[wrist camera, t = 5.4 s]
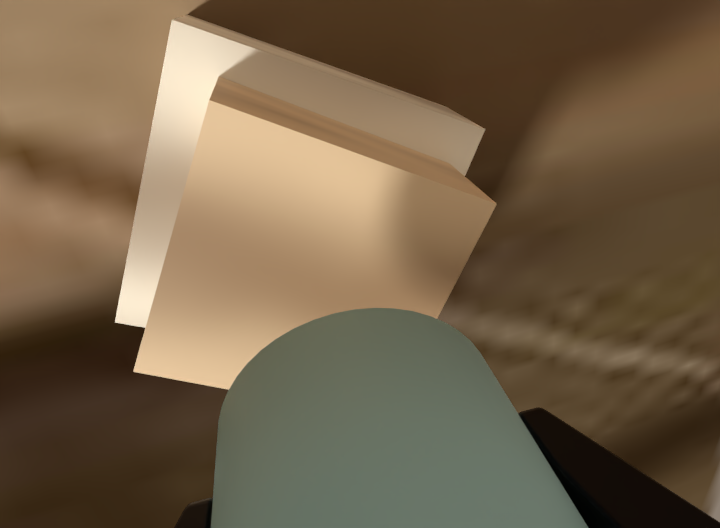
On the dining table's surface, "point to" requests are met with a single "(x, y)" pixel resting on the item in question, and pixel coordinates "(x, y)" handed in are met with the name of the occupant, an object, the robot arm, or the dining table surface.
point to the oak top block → (299, 234)
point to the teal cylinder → (378, 434)
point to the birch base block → (280, 80)
